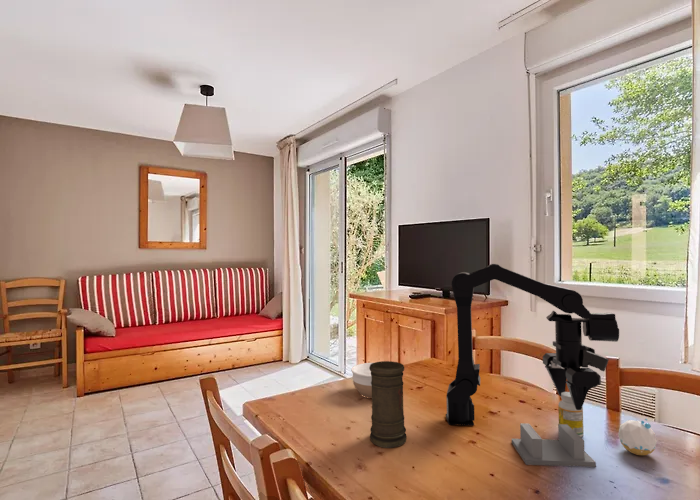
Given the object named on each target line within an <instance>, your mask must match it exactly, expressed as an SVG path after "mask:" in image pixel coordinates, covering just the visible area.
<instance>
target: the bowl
mask: <svg viewBox="0 0 700 500" xmlns="http://www.w3.org/2000/svg"><path fill="white" fill-rule="evenodd" d="M372 363H373V362H365V363H359V364H356V365H354V366H353V367H351V373H352V383H353V385H354V388H355V390H357V392H358V393H359V395H360V394H361V395H363V396H365V397H364V398H366V397H368V398H367V399H370V398H372V385H371V381H372V376H371V371H370V369H369V368H370V365H371V364H372ZM361 395H360V396H361ZM363 396H362V397H363Z"/></svg>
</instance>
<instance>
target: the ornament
mask: <svg viewBox="0 0 700 500" xmlns="http://www.w3.org/2000/svg"><path fill="white" fill-rule="evenodd" d="M645 421H648V419H647V418H645V419H644V420H634V419H633V420H632V419H628V420H626V421H625V422H623V423H622V424H620V426H619V430H618V434H617V436H618V438H619V442H620V444H621V445H622V447H624V449H625V450H627V451H628V452H630V453H631V454H634V455H637V456H647V455H650V454H652V453H653V452H654V451H655V449H656V447H657V436H656V433H655V432H654V430H653V429H652V428H651V427H652V425H651V423H649V422H645Z"/></svg>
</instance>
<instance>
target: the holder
mask: <svg viewBox="0 0 700 500" xmlns="http://www.w3.org/2000/svg"><path fill="white" fill-rule="evenodd" d="M557 425H558V427H557V428H558V431H557V432H558V439H547V438H546V439H543V438H542V437H541V436H540V435H539V433H537V431H536V430H535V429H534V428H533V426H532V425H531V424H530V423H520V430H519V431H520V432H519V433H520V436H519V437H520V438H511V444H512V446H513V447H514V448H515V450H516V452H517V453H518V454H519V456H520V458H521V459H522V460H523V462H524V464H525V465H527V466H529V465H530V466H550V467H552V466H556V467H559V466H561V467H581V468H582V467H585V468H588V467H589V468H596V467H597V463H596V460H594V458H592V457H591V456H590V455H589V454H588V453H587V452H586V450H585V440H584V438H582V437H580V436H579V435H578V434H577V433H576V432H575V431H574V430H573V429H572V428H571V427H569V426H568V425H567V424H559V423H558V424H557Z"/></svg>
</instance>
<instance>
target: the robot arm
mask: <svg viewBox="0 0 700 500" xmlns="http://www.w3.org/2000/svg"><path fill="white" fill-rule="evenodd" d="M494 280H496V281H498V282H501V283H503V284H506V285H508V286H510V287H514V288H517V289H518V290H521V291H523V292H526V293H528V294H531V295H534V296H535V297H539V298H540V299H542V300H544V301H545V302H547V303H548V304H550V305H551V306H553V307H555V308H557V309H558V310H560V311H562V312H563V313H557V311H555V310H552V311H551V313H550V314H548V315H547V316H546V320H548V321H549V322H554V325H555V326H554V327H555V329H554V330H555V332H554V333H555V340H554V341H552V347H553V346H554V347H555V352H554V353H553V352H552V353H551V352H550V353H549V352H545V354H543V356H542V364H543V365H544V368H545V370H546V371H547V373H548V375H549V377H550V379H551V381H552V383H553V385H554V387H555V389H556V391H557V394H558V395H559V397H561V393H562V392H566V386H567V389H568V392H570V395H571V398H572V400H573V403H574V406H575V408H576V410H581V409H582V407H583V406H584V403H585V402H586V401H585V400H586V398H587V395H588V393H589V390H591V389H592V388H596V387H597V386H600V385H602V380H601V379H602V376H601V375H600V374H599V373H598V372H597V371H595V370H593V369H592V368H590V367H593V368H596V369H598V370H599V371H601V372H605V371H606V369H607V365H608V363H609V359H608V358H606V357H605V356H603V355H600V354H598V353H596V351H595V350H596V349H594V348H592V347H590V346H587V345H585V344H582V342H583V340H582V337H583V336H582V335H584V337H588V340H589V341H591V342H594V341H595V342H614V343H615V342H618V341H619V338H620V329H619V326H618V321H617V319H616V314H615V313H614V312H604V313H603V312H602V313H601V312H600V313H599V312H596V313H595V312H590V310H588V309H587V307H586V306H585V305H584V302H583V301H584V300H583V297H582V295H581V294H580V293H579V292H578V291H576V290H575V289H574V290H573V289H572V288H568V287H564V286H559V285H554V284H548V283H544V282H542V281H540V280H539V281H538V280H536V279H533V278H532V277H528V276H525V275H524V274H520V273H518V272H515V271H513V270H510V269H508V268H505V267H502V266H501V265H499V264H498V263H491V264H489V265H488V266H485V267H482V268H480V269H477V270H474V271H471V272H465V271H463V272H459V273H457V274H456V275H455V276H453V278H452V280H451V288H452V293H453V298H454V302H455V305H456V315H457V316H456V317H457V318H456V319H457V321H456V322H457V346H458V347H457V348H458V349H457V350H458V351H457V352H458V354H457V355H458V360H457V364H456V365H457V367H456V372H455V377H454V380H452V381H451V382H450V383H449V384H448V387H447V391H446V413H445V418H446V421H447V423H448V425H449V426H475V423H474V422H475V416H476V415H475V404H474V403H473V399H472V398H471V397H472V396H473V395H475V394H476V393H477V391H478V386H479V387H481V376H480V368H481V367H480V366H481V365H480V363H475V361H474V355H473V354H474V353H473V352H474V351H473V329H472V328H473V325H472V323H473V322H472V305H473V304H472V303H473V299H474V298H473V297H474V292H475V291H474V290H475V288H476V287H479V286H481V285H483V284H486V283H489V282H491V281H494ZM572 314H575V315H577V316H579V317H578V318H577V317H572ZM582 333H583V334H582ZM589 366H590V367H589Z"/></svg>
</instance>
